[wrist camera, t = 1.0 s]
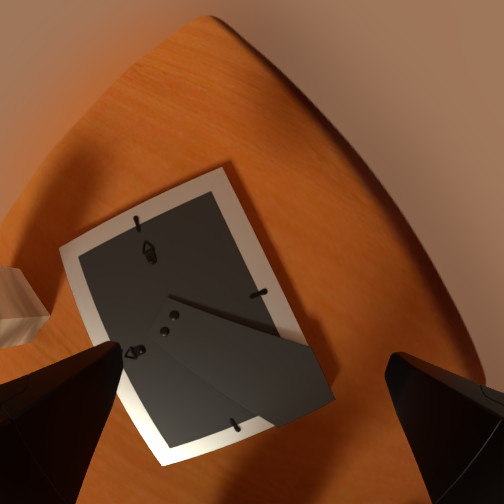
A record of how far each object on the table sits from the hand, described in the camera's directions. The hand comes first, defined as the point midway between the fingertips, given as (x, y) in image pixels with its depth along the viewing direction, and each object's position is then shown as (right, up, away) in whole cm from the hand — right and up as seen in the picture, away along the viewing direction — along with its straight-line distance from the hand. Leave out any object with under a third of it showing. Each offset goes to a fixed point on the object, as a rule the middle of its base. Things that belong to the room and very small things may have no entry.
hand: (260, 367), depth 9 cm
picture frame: (-5, -2, +15) cm, 16 cm away
